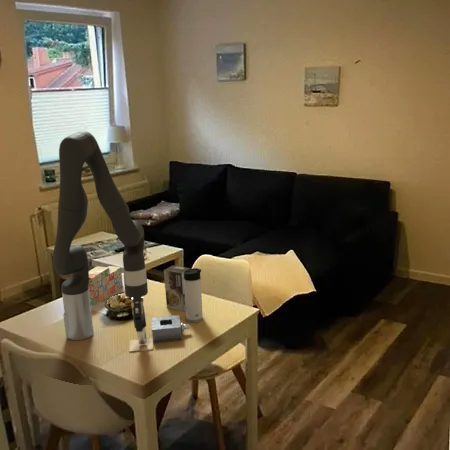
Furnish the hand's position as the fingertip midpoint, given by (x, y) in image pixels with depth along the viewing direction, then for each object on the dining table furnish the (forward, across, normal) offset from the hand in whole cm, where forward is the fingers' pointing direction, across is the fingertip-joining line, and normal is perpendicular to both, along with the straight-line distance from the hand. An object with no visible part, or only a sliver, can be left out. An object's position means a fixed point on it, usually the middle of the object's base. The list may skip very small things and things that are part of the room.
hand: (139, 327), depth 182 cm
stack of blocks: (+7, +50, +17) cm, 53 cm away
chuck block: (+7, +6, -11) cm, 14 cm away
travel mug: (+7, +17, -20) cm, 27 cm away
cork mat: (+7, 0, 0) cm, 7 cm away
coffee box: (+7, +30, -15) cm, 35 cm away
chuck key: (+5, 0, -1) cm, 6 cm away
